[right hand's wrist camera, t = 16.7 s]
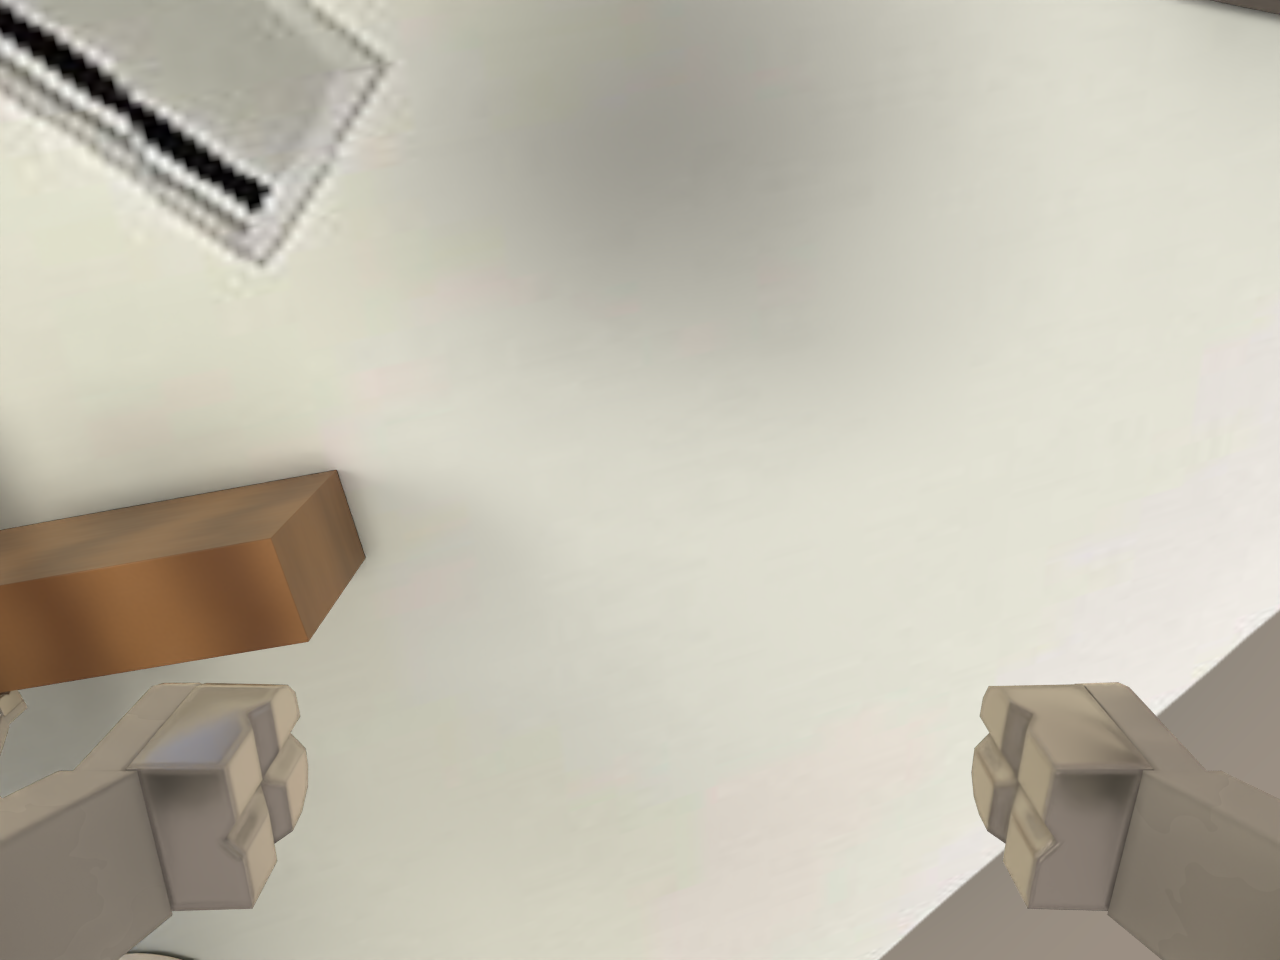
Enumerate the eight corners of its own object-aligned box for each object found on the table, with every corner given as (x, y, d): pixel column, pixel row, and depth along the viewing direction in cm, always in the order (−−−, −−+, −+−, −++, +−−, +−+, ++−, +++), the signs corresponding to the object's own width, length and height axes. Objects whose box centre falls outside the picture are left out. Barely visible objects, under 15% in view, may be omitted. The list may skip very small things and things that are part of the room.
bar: (336, 469, 47) (270, 538, 39) (365, 558, 49) (308, 642, 40) (-42, 537, 48) (-184, 617, 40) (1, 621, 50) (-127, 714, 42)
